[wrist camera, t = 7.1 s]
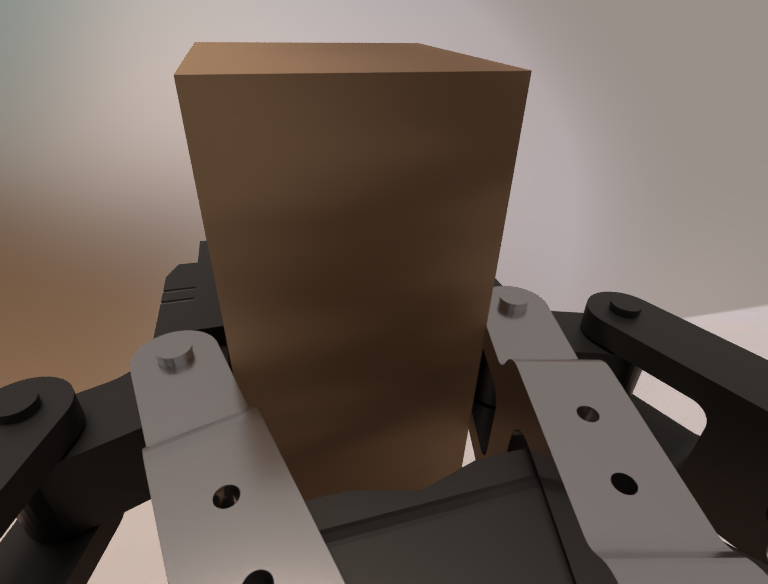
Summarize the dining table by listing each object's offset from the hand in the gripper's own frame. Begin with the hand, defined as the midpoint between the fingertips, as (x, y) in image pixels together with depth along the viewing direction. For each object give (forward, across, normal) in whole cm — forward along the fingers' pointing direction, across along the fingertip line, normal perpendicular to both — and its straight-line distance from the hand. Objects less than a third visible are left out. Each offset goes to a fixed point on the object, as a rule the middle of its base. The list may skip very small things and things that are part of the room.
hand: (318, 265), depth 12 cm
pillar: (-3, 0, +7) cm, 8 cm away
